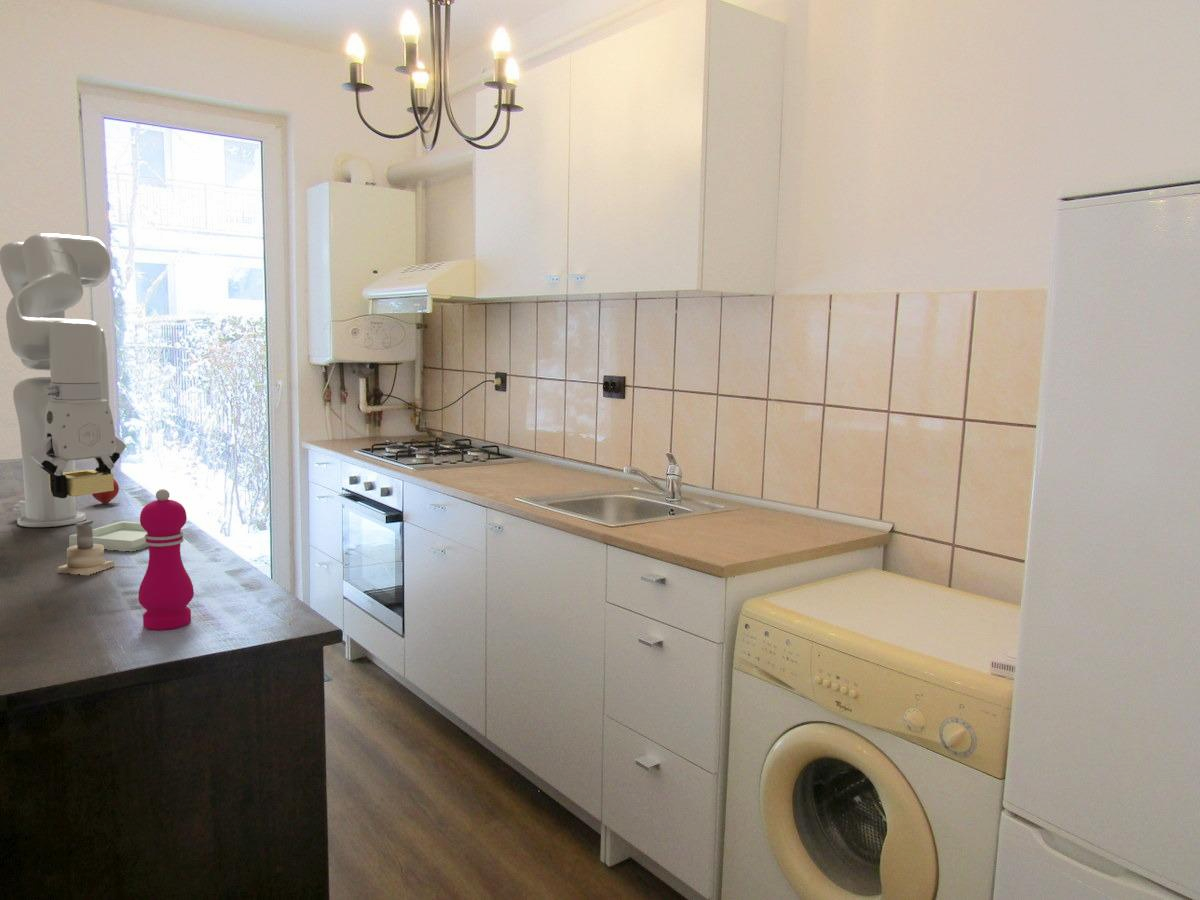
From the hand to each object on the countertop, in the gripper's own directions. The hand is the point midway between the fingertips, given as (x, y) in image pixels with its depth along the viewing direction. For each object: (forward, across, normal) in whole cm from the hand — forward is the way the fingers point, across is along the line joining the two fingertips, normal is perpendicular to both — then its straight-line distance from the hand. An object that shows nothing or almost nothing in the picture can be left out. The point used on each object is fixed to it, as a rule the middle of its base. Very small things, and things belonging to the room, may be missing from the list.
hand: (82, 492), depth 148 cm
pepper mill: (+13, -11, -37) cm, 41 cm away
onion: (+15, +36, +51) cm, 64 cm away
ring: (0, 0, +1) cm, 1 cm away
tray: (+14, +16, +12) cm, 25 cm away
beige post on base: (+14, 0, -1) cm, 14 cm away
